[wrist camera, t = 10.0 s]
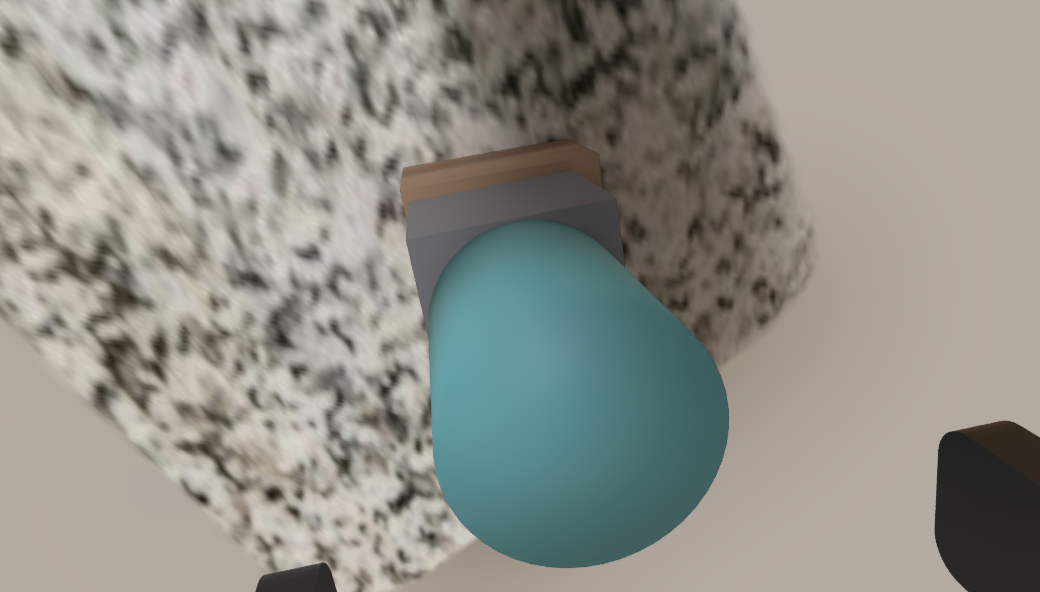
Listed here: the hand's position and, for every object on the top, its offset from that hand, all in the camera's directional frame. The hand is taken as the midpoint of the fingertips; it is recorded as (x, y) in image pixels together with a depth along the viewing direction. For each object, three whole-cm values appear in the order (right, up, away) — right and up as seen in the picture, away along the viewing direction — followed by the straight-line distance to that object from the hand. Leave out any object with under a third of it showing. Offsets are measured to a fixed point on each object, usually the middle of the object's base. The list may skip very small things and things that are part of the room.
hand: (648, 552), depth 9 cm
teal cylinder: (-1, +3, +8) cm, 9 cm away
